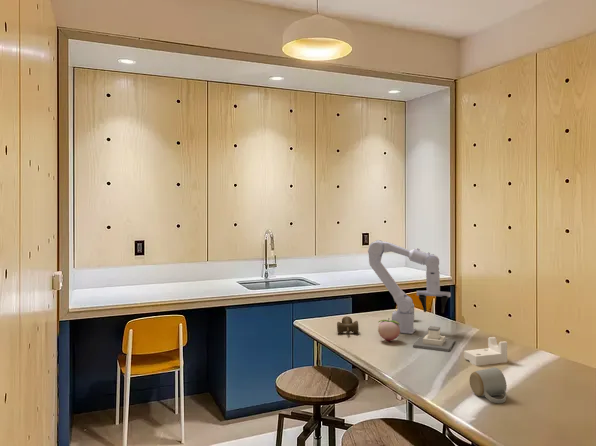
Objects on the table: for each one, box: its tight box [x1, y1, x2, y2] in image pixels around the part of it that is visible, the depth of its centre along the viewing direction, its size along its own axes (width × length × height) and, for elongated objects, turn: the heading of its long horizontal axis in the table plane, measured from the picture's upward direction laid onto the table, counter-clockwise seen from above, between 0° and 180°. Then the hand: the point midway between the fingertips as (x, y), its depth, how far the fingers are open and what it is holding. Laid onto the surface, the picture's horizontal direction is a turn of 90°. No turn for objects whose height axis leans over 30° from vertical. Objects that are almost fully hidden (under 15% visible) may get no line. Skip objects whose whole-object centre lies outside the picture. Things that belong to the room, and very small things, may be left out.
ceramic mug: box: [469, 367, 508, 404], centre depth 136 cm, size 11×8×8 cm
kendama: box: [336, 315, 360, 335], centre depth 213 cm, size 6×10×20 cm
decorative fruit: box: [377, 317, 401, 342], centre depth 195 cm, size 9×8×10 cm
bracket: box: [463, 336, 508, 367], centre depth 168 cm, size 13×7×8 cm, turn 104°
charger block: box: [427, 325, 441, 340], centre depth 189 cm, size 4×4×6 cm
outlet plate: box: [412, 333, 456, 353], centre depth 189 cm, size 14×14×3 cm
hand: (433, 312), depth 207 cm, fingers open, 7 cm apart
